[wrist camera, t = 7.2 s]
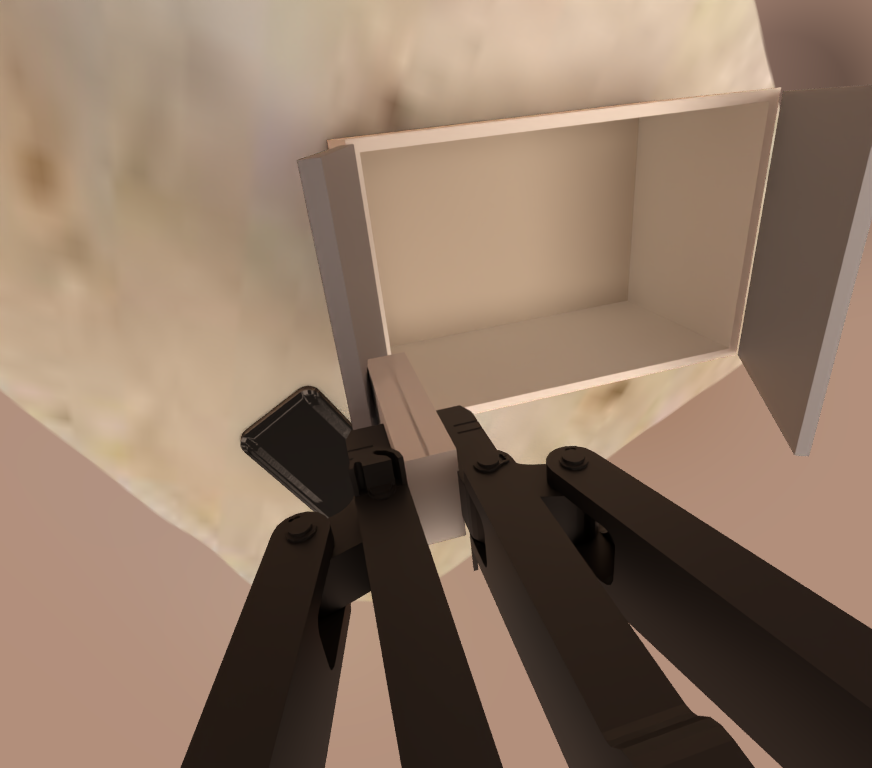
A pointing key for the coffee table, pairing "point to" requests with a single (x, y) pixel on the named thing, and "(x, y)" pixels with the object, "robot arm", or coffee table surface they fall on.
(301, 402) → the phone
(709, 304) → the carton
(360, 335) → the flap
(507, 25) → the coffee table surface
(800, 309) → the flap
